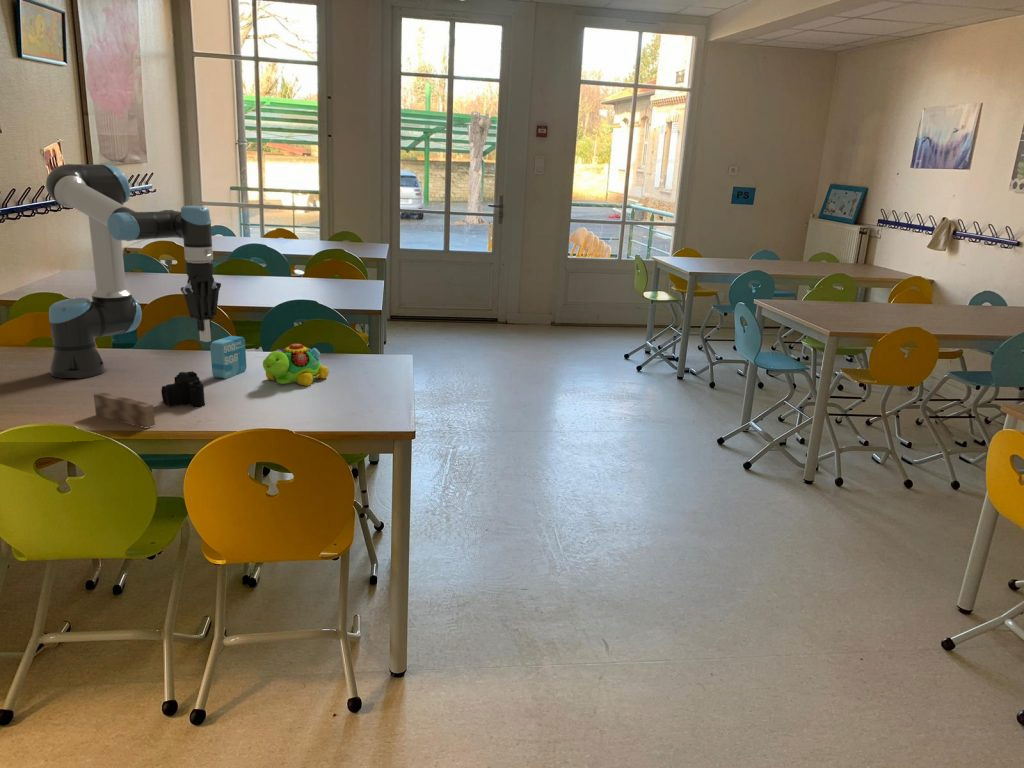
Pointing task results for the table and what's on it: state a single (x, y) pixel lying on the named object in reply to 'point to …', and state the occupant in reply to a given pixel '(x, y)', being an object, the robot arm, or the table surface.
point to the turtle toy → (294, 365)
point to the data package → (228, 356)
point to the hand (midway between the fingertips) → (205, 340)
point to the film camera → (184, 391)
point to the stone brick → (124, 409)
